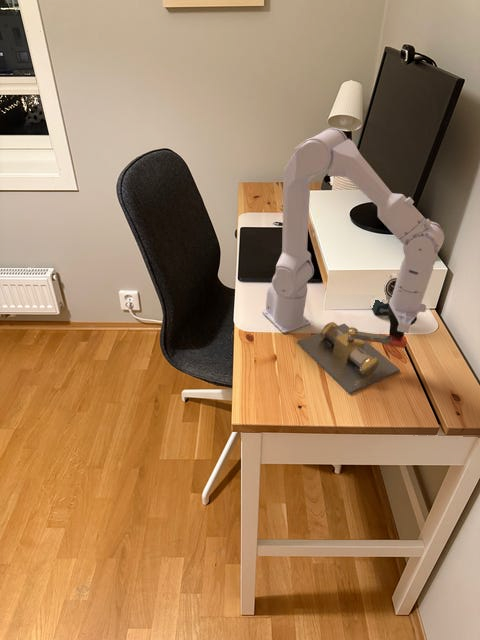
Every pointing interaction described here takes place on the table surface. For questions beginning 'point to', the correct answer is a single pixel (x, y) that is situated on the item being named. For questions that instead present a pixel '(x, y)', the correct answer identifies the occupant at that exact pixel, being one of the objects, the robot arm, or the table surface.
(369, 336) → the lever
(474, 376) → the table surface
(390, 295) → the watch
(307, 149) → the robot arm
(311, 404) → the table surface
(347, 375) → the valve
